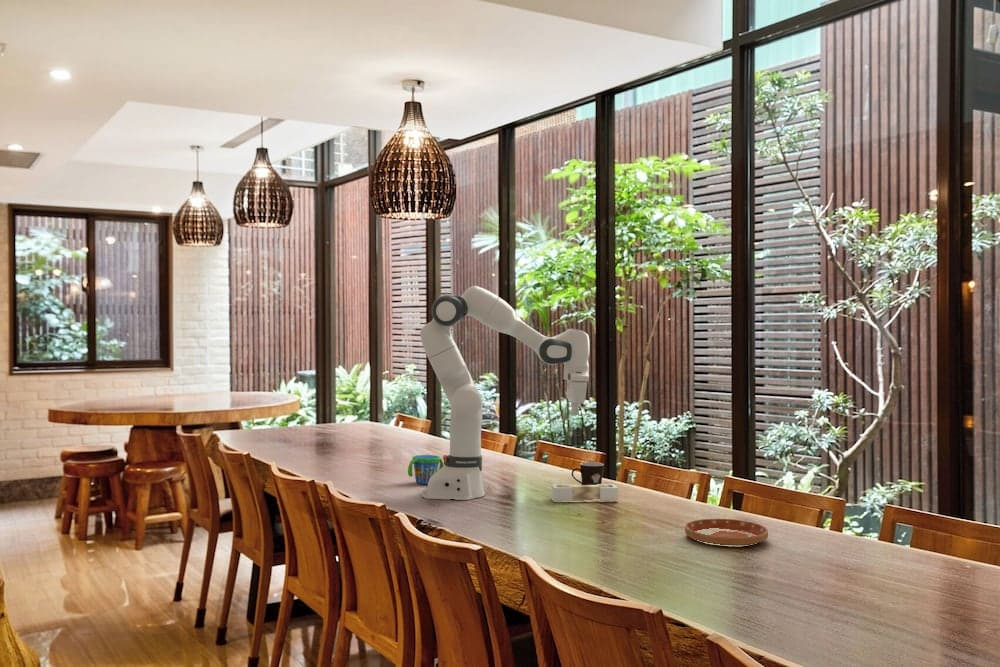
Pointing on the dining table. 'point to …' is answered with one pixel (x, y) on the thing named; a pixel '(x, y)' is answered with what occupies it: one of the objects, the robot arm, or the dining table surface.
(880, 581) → the dining table surface
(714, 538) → the saucer
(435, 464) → the snack cup
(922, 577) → the dining table surface
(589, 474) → the coffee mug
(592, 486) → the slat
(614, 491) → the endcaps
